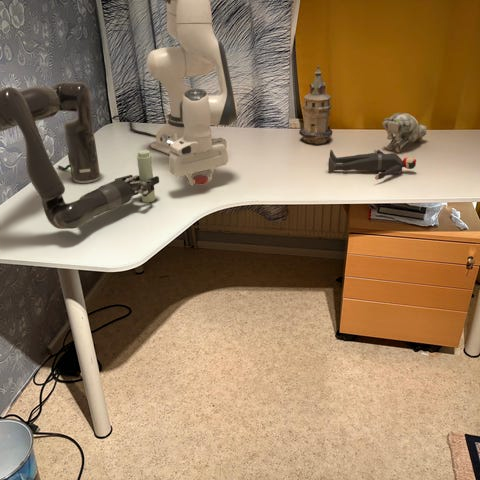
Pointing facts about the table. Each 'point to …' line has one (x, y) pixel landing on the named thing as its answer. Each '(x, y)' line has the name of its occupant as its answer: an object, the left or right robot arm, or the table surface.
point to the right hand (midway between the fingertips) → (200, 182)
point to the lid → (200, 179)
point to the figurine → (403, 130)
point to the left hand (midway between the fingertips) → (152, 177)
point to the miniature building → (316, 112)
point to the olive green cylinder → (145, 172)
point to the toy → (371, 163)
